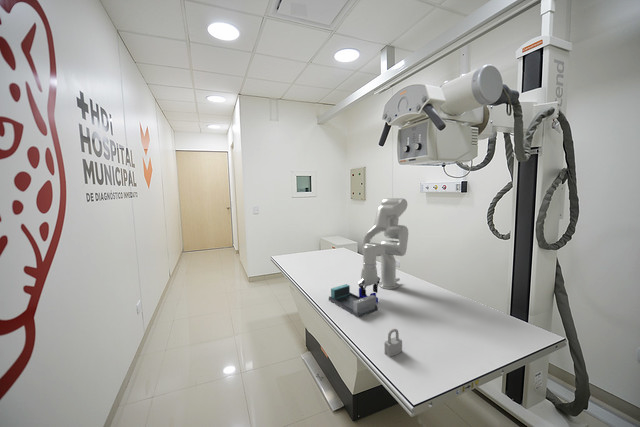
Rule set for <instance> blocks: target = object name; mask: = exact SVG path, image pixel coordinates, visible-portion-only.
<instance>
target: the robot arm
mask: <svg viewBox="0 0 640 427" xmlns="http://www.w3.org/2000/svg"><path fill="white" fill-rule="evenodd" d="M407 207H408V201H407V200H406V198H399V197H398V198H397V197H394V198H392V197H391V198H384V199H382V200H381V205H379V206H378V207H377V212H376V215H375V219H374V224H373V226H372V228H370V229H369V230H368V231H367V233H365V235H364V237H363V240H362V246H361V249H362V253H363V255H362V256H363V258H362V260H363V261H362V263H363V264H362V266H363V267H362V269H361V273H360V280H359V281H358V283H357V284H358V287H359V288H361V295H363V296H366V295H367V293H366V292H367V290H366V288H367V287H370V286H372V293H376V294H377V293H379V292H378V288H379V287H380V288H382V289H386V290H395V289H398V287H399V284H398V283H397V282H400V281H401V278H400V277H398V278H397V275H396V274H397V273H396V272H397V270H396V265H397V263H396V258H395V256H396V257H397V256H398V257H403V256H405V255H406V253H407V248H408V242H409V241H408V240H409V228H408V227H407V226H406V225H404V224H402V225H401V224H399V218H400V217H401V216H402V215H403V214H404V212H406V210H407ZM381 233H383V235H384V237H385V238H387V239H384V240H382V241H381V242H380V243H375V242H371V240H372V239H373V237H375V236H376V235H379V234H381ZM390 239H391V240H390ZM377 257H380V265H381V267H380V268H381V269H380V270H381V273H380V274H381V276H380V277H379V276H378V268H377V264H378V263H377ZM378 286H379V287H378Z"/></svg>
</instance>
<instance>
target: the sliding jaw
mask: <svg viewBox="0 0 640 427" xmlns="http://www.w3.org/2000/svg"><path fill="white" fill-rule="evenodd" d="M350 288H351V286H350V285H349V284H348V283H347V284H346V283H344V284H342V285H339V286H336V287H335V286H334V287H332V288H330V297H332V298H334V299H337V298H340V297H344V296H347V295H350V293H351V291H350Z"/></svg>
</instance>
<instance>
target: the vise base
mask: <svg viewBox="0 0 640 427" xmlns="http://www.w3.org/2000/svg"><path fill="white" fill-rule="evenodd" d="M376 297H377V295H376V296H374V295H367V297H364V298H360V297H359V295H356V294H354V293H351V292H350V295H347V296H344V297H340V298H337V299H334V298H332V297H331V295H329V296H328V301H329V302H331V303H333V304H334V303H335V304H334V305H337V306H338V307H340V308H341V309H343V310H344V311H347V312H348V313H350V314H351V315H353V316H355V317H357V318H362V317H364V316H366V315H370V314H372V313H375V312H377V311H379V308H378V305H377V303H376Z"/></svg>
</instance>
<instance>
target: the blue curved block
mask: <svg viewBox="0 0 640 427" xmlns="http://www.w3.org/2000/svg"><path fill="white" fill-rule="evenodd" d="M370 295H374V296H376V304H378V303H379V297H377V293H376V292H371V293H370ZM370 295H369V296H370ZM367 296H368V295H367V294H366V296H363V295H361V288H360V287H359V288H358V297H360V298H364V297H367Z"/></svg>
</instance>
